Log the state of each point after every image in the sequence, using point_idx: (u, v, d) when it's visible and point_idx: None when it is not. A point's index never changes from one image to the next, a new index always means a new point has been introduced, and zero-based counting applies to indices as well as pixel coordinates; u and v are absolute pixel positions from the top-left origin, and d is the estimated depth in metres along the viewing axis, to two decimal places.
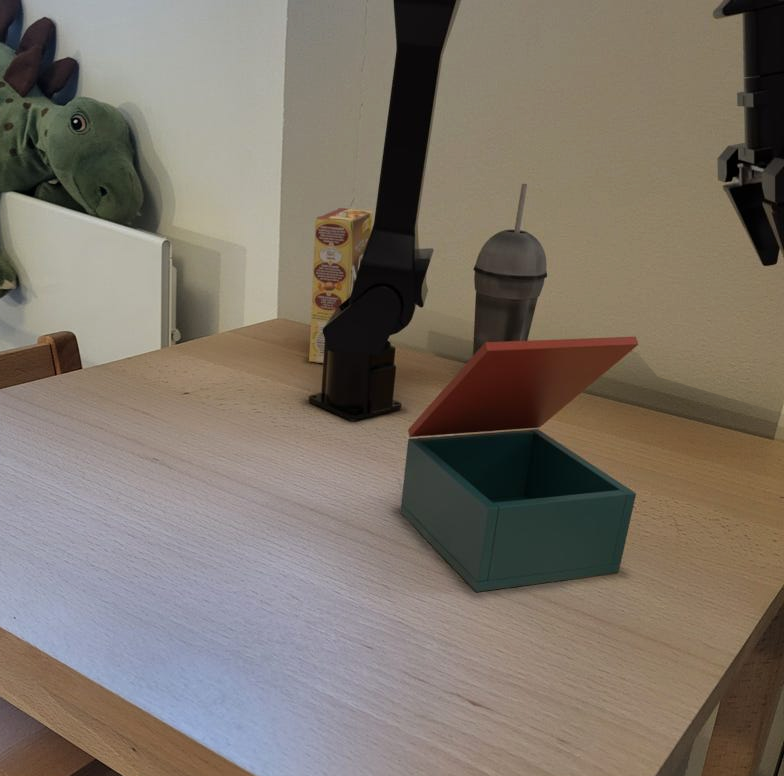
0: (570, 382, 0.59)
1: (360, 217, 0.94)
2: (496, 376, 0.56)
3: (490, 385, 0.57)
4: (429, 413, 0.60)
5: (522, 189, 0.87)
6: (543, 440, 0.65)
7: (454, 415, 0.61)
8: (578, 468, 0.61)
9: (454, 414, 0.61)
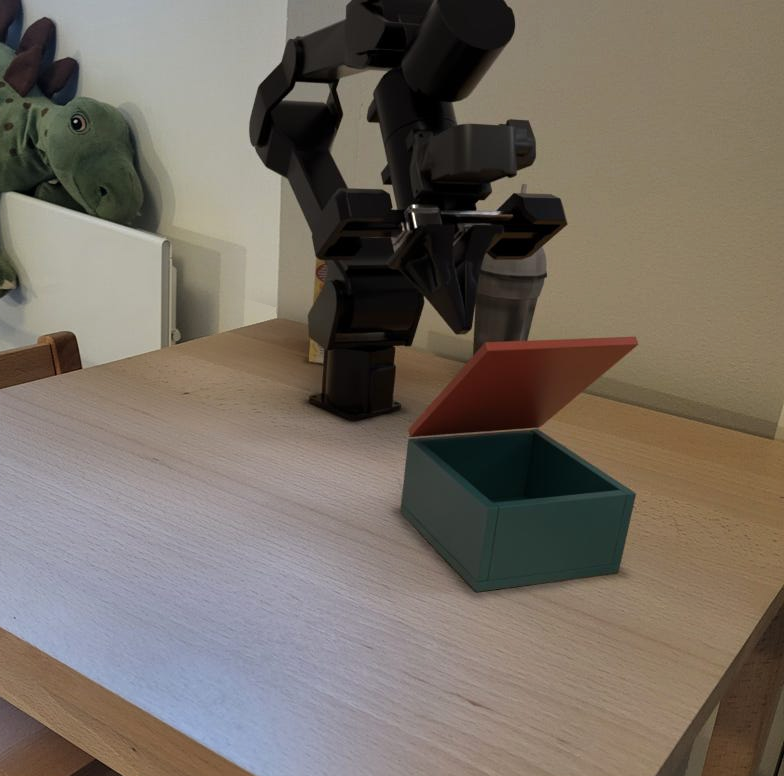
0: (570, 382, 0.59)
1: None
2: (496, 376, 0.56)
3: (490, 385, 0.57)
4: (429, 413, 0.60)
5: (522, 189, 0.87)
6: (543, 440, 0.65)
7: (454, 415, 0.61)
8: (578, 468, 0.61)
9: (454, 414, 0.61)
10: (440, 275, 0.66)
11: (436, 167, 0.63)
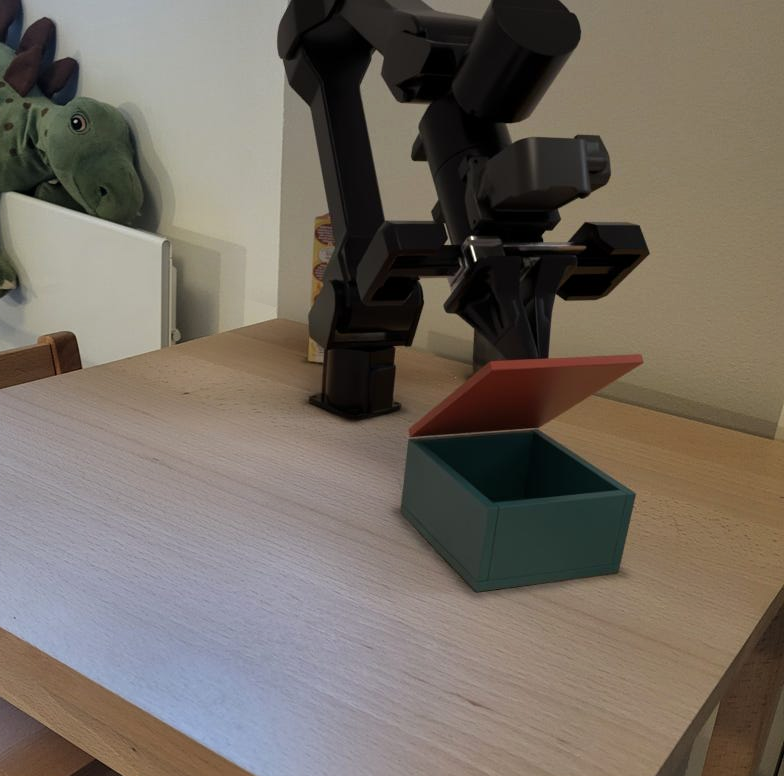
0: (573, 392, 0.59)
1: None
2: (499, 389, 0.56)
3: (493, 396, 0.57)
4: (430, 418, 0.60)
5: None
6: (543, 440, 0.65)
7: (455, 420, 0.61)
8: (578, 468, 0.61)
9: (454, 419, 0.61)
10: (507, 314, 0.57)
11: (496, 191, 0.55)
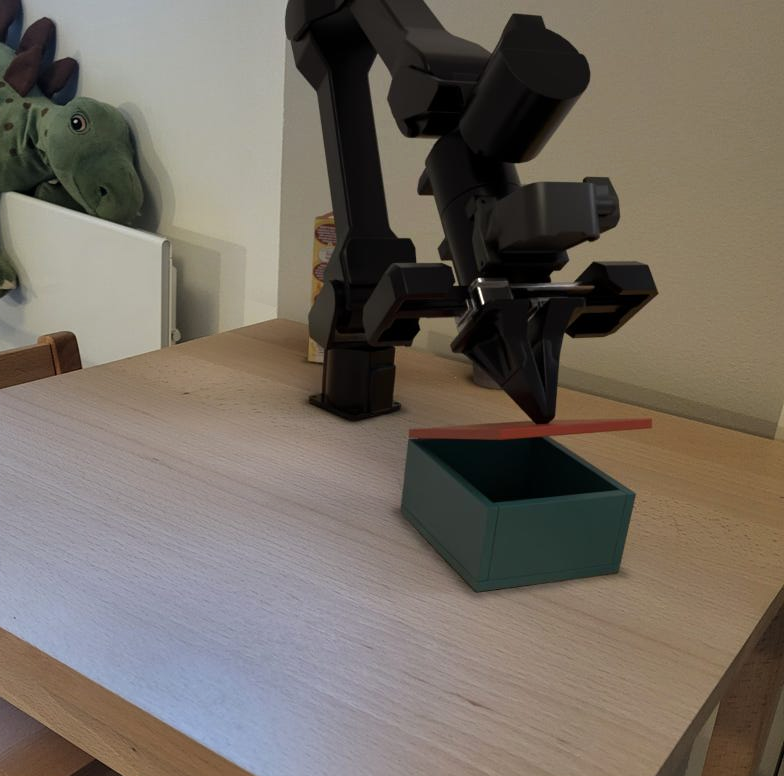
0: None
1: None
2: None
3: None
4: (432, 436, 0.60)
5: None
6: (543, 440, 0.65)
7: None
8: (578, 468, 0.61)
9: None
10: (514, 357, 0.56)
11: (504, 234, 0.55)
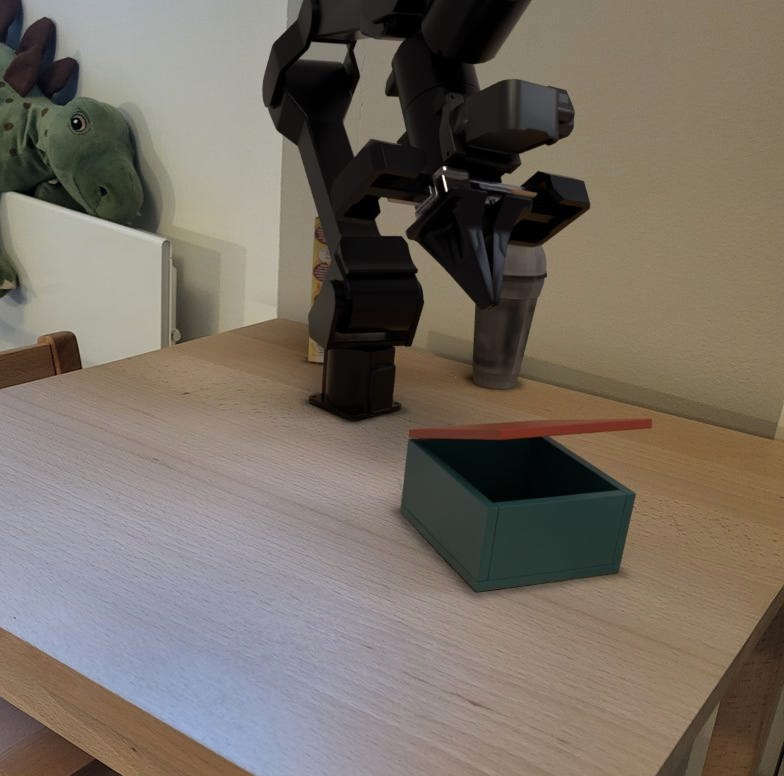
0: None
1: None
2: None
3: None
4: (432, 436, 0.60)
5: None
6: (543, 440, 0.65)
7: None
8: (578, 468, 0.61)
9: None
10: (469, 244, 0.61)
11: (473, 127, 0.59)
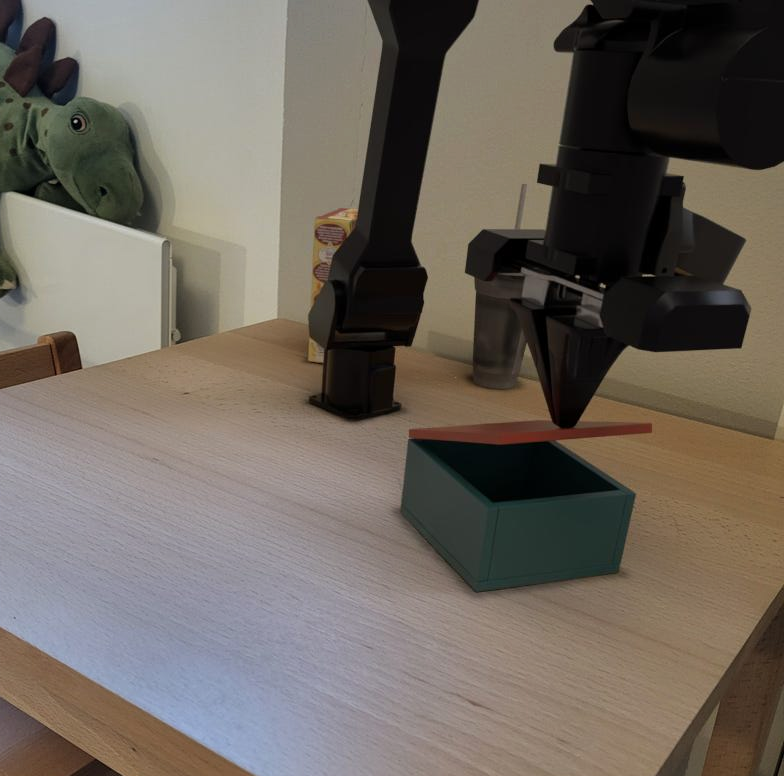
0: None
1: None
2: None
3: None
4: (432, 438, 0.60)
5: (522, 189, 0.87)
6: None
7: None
8: (578, 468, 0.61)
9: None
10: (607, 369, 0.52)
11: (695, 259, 0.50)
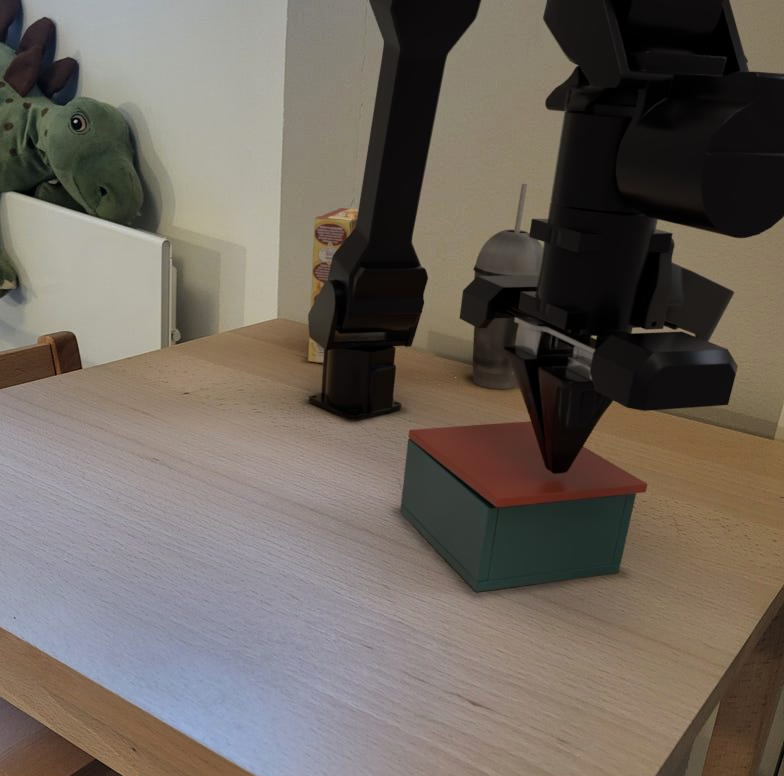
0: None
1: None
2: None
3: None
4: (431, 454, 0.60)
5: (522, 189, 0.87)
6: None
7: None
8: None
9: None
10: (598, 417, 0.53)
11: (684, 312, 0.51)
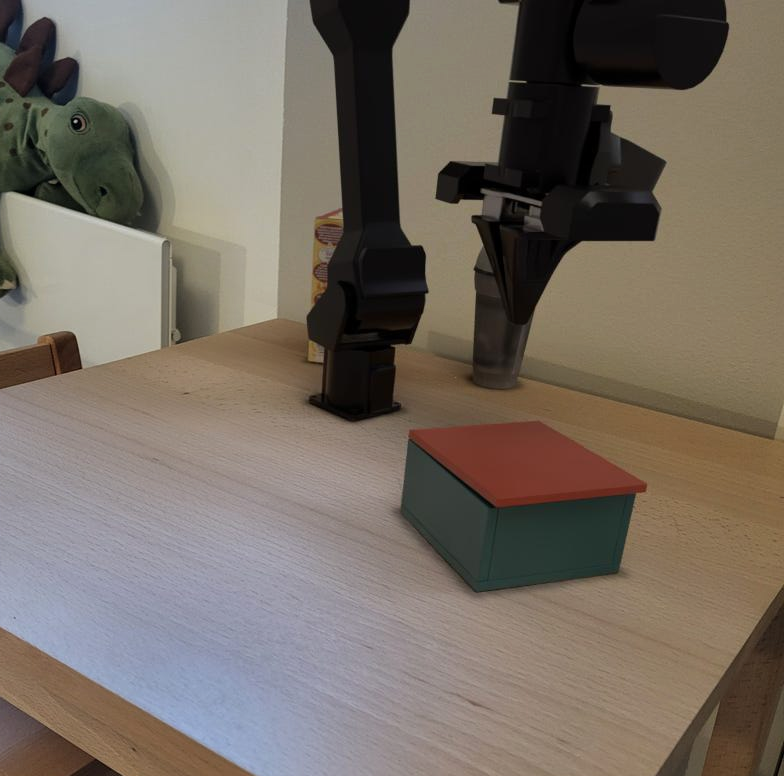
0: None
1: None
2: None
3: None
4: (431, 454, 0.60)
5: None
6: None
7: None
8: None
9: None
10: (551, 271, 0.62)
11: (622, 177, 0.60)
